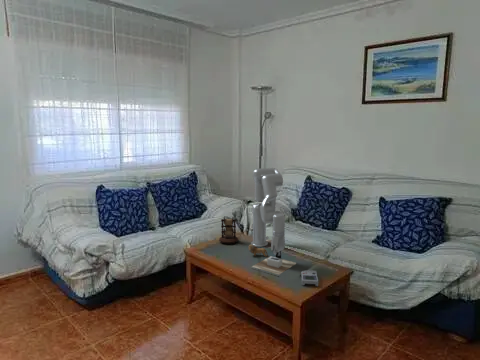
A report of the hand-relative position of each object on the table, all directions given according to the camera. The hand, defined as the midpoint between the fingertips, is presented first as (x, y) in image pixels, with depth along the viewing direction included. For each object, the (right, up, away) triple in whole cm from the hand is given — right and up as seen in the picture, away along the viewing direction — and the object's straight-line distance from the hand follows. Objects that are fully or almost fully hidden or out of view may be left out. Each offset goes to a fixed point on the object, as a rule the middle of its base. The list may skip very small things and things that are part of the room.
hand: (278, 260), depth 220 cm
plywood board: (-3, -3, -3) cm, 5 cm away
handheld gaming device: (+15, -7, -22) cm, 28 cm away
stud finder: (-3, -2, -4) cm, 5 cm away
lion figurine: (-12, -1, +13) cm, 18 cm away
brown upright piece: (-33, +4, +45) cm, 56 cm away
